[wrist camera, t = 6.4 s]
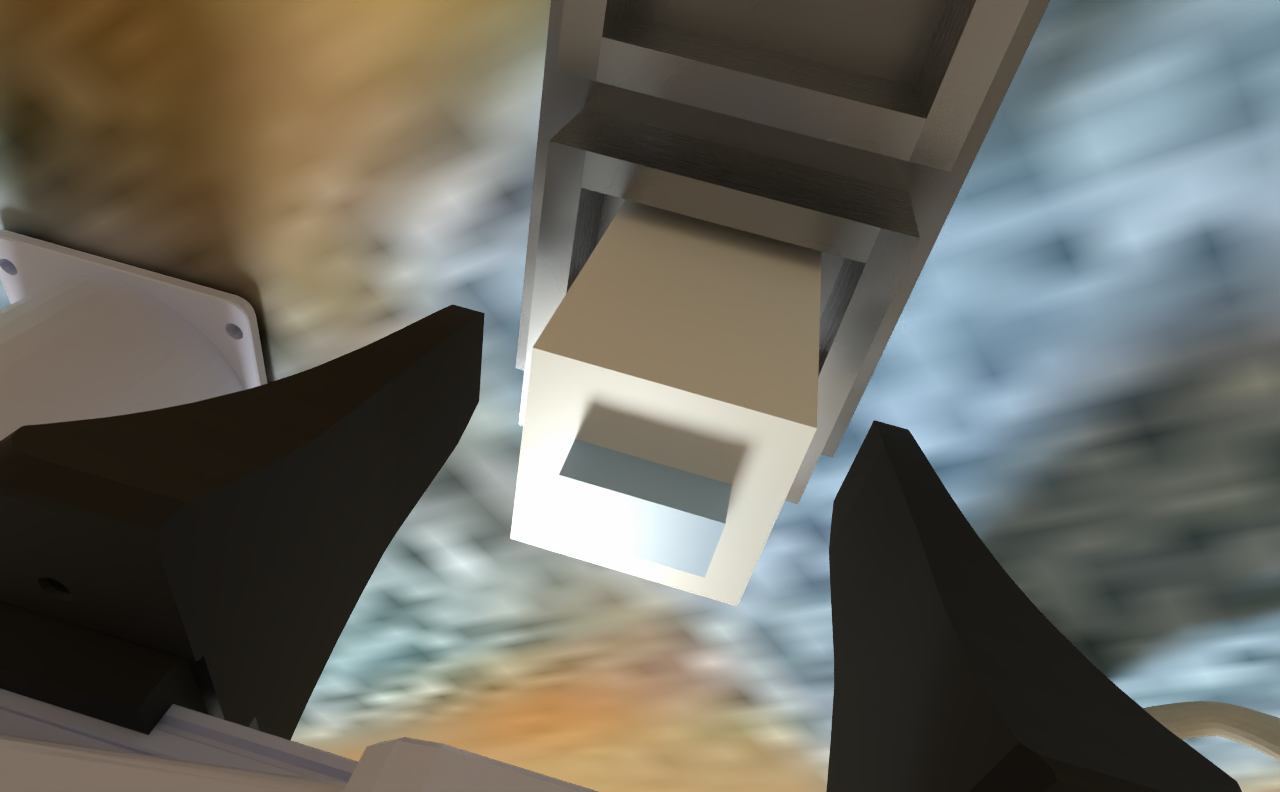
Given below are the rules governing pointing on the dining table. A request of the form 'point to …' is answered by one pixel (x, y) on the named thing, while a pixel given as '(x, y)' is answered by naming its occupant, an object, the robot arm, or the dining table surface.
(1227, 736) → the mug
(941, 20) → the panel
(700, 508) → the plug
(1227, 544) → the dining table surface
